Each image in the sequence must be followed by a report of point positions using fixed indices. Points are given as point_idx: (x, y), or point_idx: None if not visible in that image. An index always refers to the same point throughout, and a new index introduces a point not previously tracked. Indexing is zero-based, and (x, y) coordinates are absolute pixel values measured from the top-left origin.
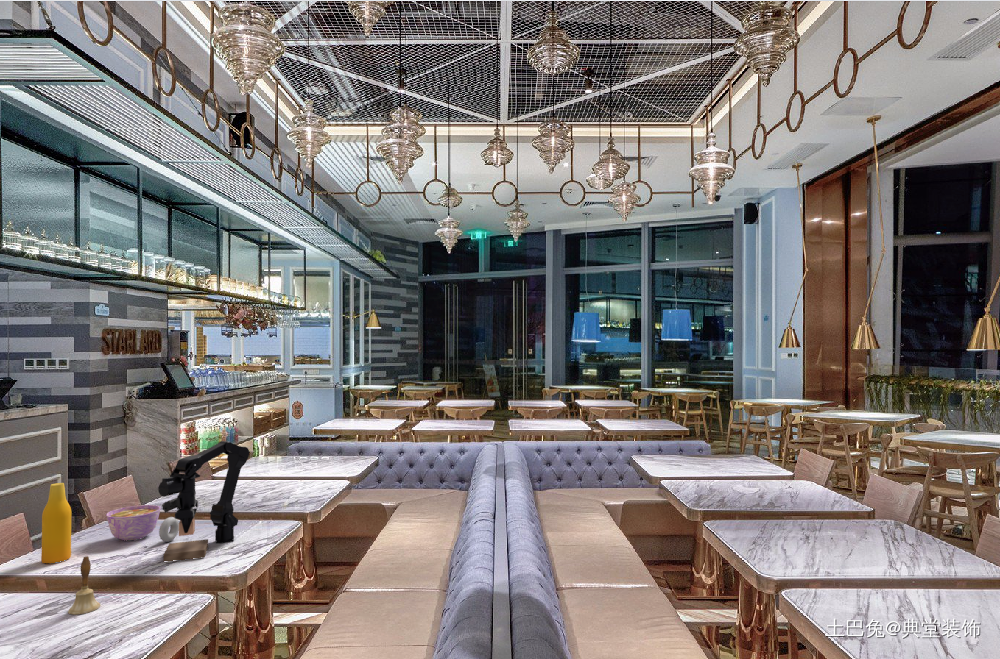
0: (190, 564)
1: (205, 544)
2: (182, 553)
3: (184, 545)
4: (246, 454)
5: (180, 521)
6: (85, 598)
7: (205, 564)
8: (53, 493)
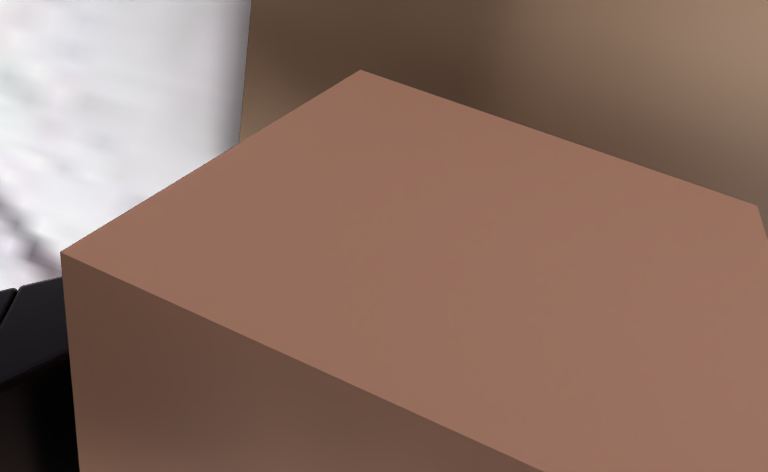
0: (122, 65)
1: None
2: (256, 29)
3: (647, 148)
4: None
5: (354, 422)
6: None
7: (75, 184)
8: None
